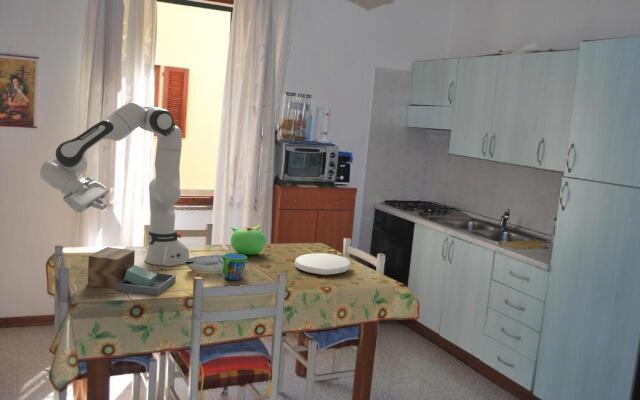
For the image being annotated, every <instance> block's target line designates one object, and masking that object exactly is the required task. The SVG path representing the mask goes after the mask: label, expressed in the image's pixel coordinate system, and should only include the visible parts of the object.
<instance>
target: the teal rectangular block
mask: <svg viewBox="0 0 640 400" xmlns="http://www.w3.org/2000/svg"><path fill="white" fill-rule="evenodd" d="M153 272H154V271H150V270H148V269H145V268H143V267H140V266H138V265H136V264H134V266H133V267H131V268H129V269H128V270H127V271H126V274H125V277H124V280H127V281H129V282H132V283H134V284H137V285H139V286H146V287H149V286H151V285H152V284H153V283H154V282H155V279H156V276H157V274H155V273H156V272H155V273H153Z"/></svg>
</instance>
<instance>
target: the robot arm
mask: <svg viewBox="0 0 640 400" xmlns="http://www.w3.org/2000/svg"><path fill="white" fill-rule="evenodd" d="M174 119H175V118H174V116H173V114H172V113H171V112H170V111H169V110H167V109H165V108H161V107H157V106H144V107H143V106H142V105H141V104H139V103H138V102H136V101H130V102H127V103H125V104H124V105H122V106H120V107H119V108H117V109H116V110H114V111H113V112H112V113H111V114H110V115H108V116H107V117H106V118H105V119H103V120H101V121H99V122H97V123H96V124H94V125H92V126H91V127H89V128H88V129H86V130H85V131H84V132H82V133H80V134H79V135H78V136H76V137H74V138H72V139H68V140H66V141H62V142H61V143H60V144H59V145H58V146H57V148H56V151H55V159H51V160H50V159H49V160H46V161H44V163H43V164H42V166H41V168H40V172H39V174H40V177H41V180H43V181H44V182H45V183H46V184H48V185H49V186H51V187H52V188H54V189H55V190H58V191H60V192H61V194H63V199H62V200H63V202H65V204H67V205H68V207H70V208H71V209H72V210H73V211H75V212H76V213H80V214H81V213H82V212H84V211H86V210H87V209H89V208H94V209H98V210H101V211H104V210H105V209H106V208H107V207H108V204H107V203H105V201H104V200H103V199H105V198H106V197H107V196H108V194H109V192H110V190H109V188H108V187H106V186H105V185H104V184H103V183H101V182H98V181H96V180H95V179H94V178H93V177H92V176H86V177H79V176H81V175H82V174H83V173H84V172H85V171H86V169H87V167H88V161H87V158H86V156H85V153H86V152H87V151H88V150H89V149H90V148H92V147H93V146H95V145H96V144H99V142H101V141H102V140H106V139H107V140H110V141H113V142H118V141H121V140H123V139H125V138H126V137H128V136H129V135H130V134H131V133H132V132H133V131H135V130H136V129H137V128H140V129H142V130H145V131H148V132H150V133H155V134H156V139H157V142H156V148H155V149H156V150H155V156H154V157H155V158H154V170H155V171H154V173H155V177H154V178H153V179H152V180H151V181H150V183H149V184H148V189H149V190H148V191H149V211H150V220H149V231H148V235H147V236H148V237H147V239H148V240H147V241H148V247H147V252H146V254H145V258H144V262H145V263H147V264H151V265H154V266H155V265H157V266H165V267H171V266H178V265H184V264H186V263H185V261H186V260H187V259H190V258H193V257H192V256H191V255H190V251H189V248H188V246H186V245H185V244H184V243H183V242H182V241H180V240H179V239H181V238H182V236H183V235H182V234H181V233H180V232H176V231H175V226H176V225H175V224H176V212H175V206H174V205H175V204H177V202H179V200H180V198H181V179H180V178H181V177H180V172H181V171H180V165H181V157H182V156H181V155H182V154H181V153H182V147H183V146H182V145H183V144H182V143H183V141H182V139H183V138H182V130H181V128H180V127H179V126H177V125H176V124H175V120H174ZM178 238H179V239H178Z"/></svg>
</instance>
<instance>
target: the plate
mask: <svg viewBox="0 0 640 400" xmlns="http://www.w3.org/2000/svg"><path fill="white" fill-rule="evenodd" d="M294 266H295V267H296V268H297V269H298V270H301V271H303V272H306V273H311V274H317V275H323V276H326V275H327V276H328V275H330V276H331V275H336V274H341V273H344V272H347V271H348V270H349V269H350V267H351V261H350V260H349V259H347V258H346V257H344V256H340V255H337V254H332V253H321V252H320V253H318V252H317V253H307V254H301V255H300V256H298V257H296V258H295V261H294Z"/></svg>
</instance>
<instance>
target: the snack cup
mask: <svg viewBox="0 0 640 400" xmlns="http://www.w3.org/2000/svg"><path fill="white" fill-rule="evenodd" d="M221 258H222V260H223V267H222V274H223V275H224V278H225V279H227V280H230V281H239V280H241V279H242V278H243V277H244V275H243V274H244V270H245V267H246V262H247V261H248V255H245V254H241V253H233V252H232V253H225V254H222V257H221Z"/></svg>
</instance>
